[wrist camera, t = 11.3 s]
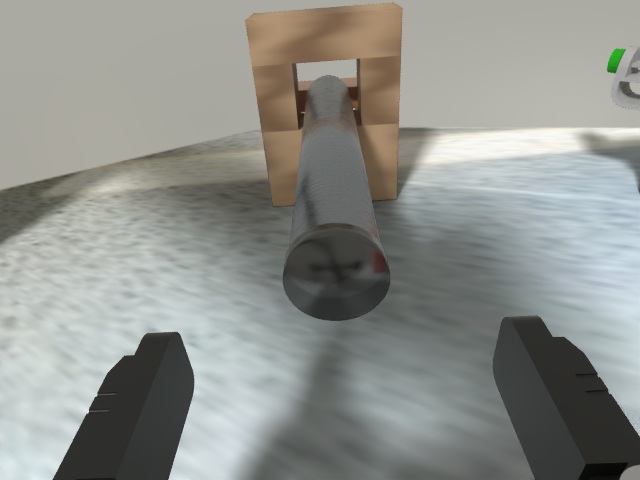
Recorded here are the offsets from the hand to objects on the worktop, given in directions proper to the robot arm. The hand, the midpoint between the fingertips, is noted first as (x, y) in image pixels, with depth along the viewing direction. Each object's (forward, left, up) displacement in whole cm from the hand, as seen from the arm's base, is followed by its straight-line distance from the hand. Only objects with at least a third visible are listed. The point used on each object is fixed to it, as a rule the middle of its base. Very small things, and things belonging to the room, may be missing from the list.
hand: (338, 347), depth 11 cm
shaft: (0, +14, -2) cm, 14 cm away
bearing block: (0, +25, -8) cm, 26 cm away
